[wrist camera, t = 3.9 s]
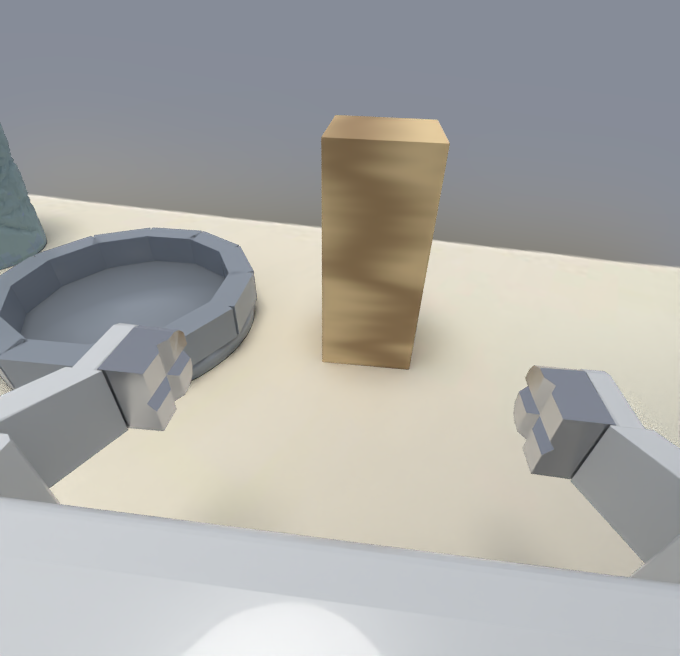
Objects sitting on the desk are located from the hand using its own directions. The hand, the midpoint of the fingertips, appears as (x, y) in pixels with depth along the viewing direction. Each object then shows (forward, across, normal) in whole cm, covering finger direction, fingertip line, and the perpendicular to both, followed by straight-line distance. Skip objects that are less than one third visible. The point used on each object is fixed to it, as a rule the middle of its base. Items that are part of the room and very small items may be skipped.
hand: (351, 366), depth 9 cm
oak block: (+12, 0, +9) cm, 15 cm away
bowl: (+12, +14, +9) cm, 21 cm away
